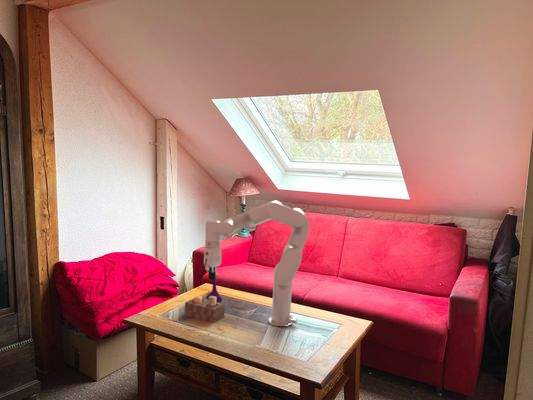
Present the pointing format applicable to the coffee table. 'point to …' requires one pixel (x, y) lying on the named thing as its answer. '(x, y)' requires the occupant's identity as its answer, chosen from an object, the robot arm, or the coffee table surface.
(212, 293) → the perfume bottle
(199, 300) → the terracotta plug
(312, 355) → the coffee table surface
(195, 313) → the walnut block
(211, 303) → the beech plug
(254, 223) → the robot arm
